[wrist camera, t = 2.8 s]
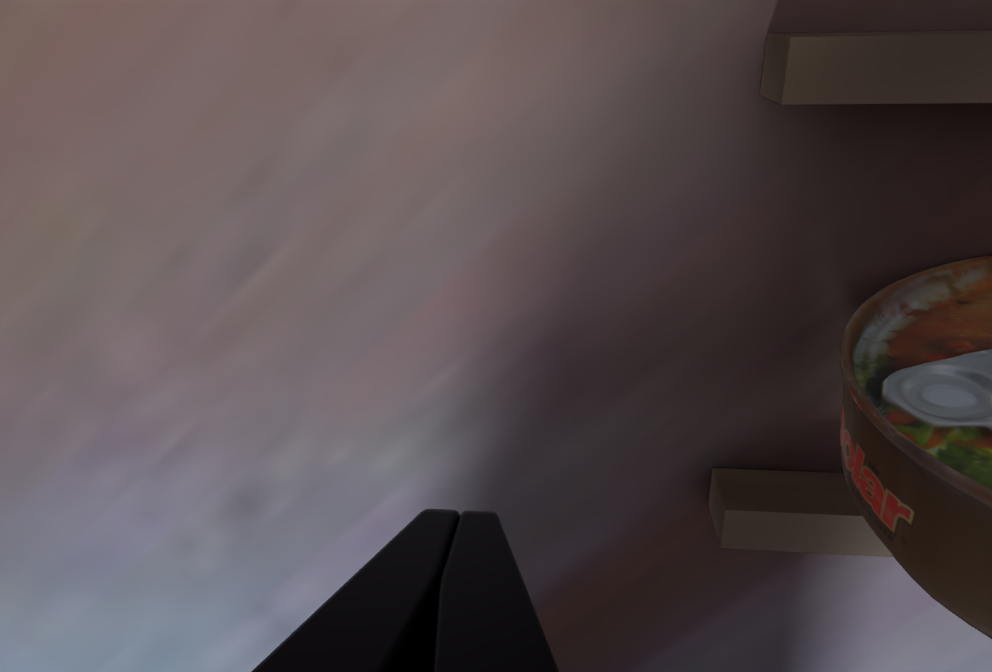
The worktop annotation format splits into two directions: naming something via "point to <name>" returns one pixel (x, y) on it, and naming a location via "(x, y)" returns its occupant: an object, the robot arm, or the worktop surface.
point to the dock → (840, 80)
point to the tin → (926, 429)
